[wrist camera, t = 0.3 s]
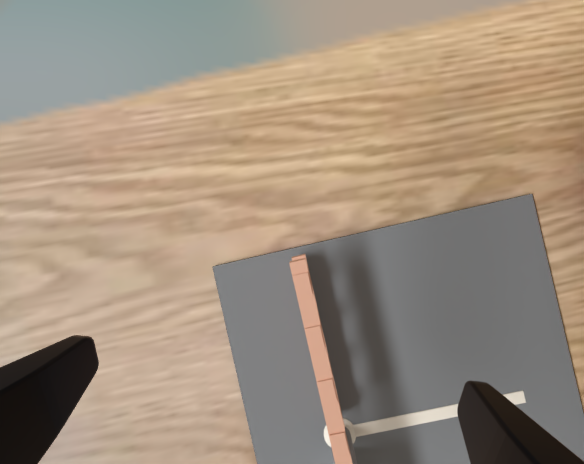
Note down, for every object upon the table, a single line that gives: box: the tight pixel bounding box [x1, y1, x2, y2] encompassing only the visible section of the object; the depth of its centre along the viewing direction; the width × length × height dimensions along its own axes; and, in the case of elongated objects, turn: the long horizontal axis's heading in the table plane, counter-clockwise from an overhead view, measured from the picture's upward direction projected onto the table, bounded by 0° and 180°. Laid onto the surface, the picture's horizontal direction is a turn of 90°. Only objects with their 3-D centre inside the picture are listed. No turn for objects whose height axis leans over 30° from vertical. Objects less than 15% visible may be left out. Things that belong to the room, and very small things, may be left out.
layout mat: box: [213, 194, 584, 464], centre depth 21 cm, size 22×22×1 cm
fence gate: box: [289, 254, 357, 464], centre depth 18 cm, size 13×1×4 cm, turn 13°
